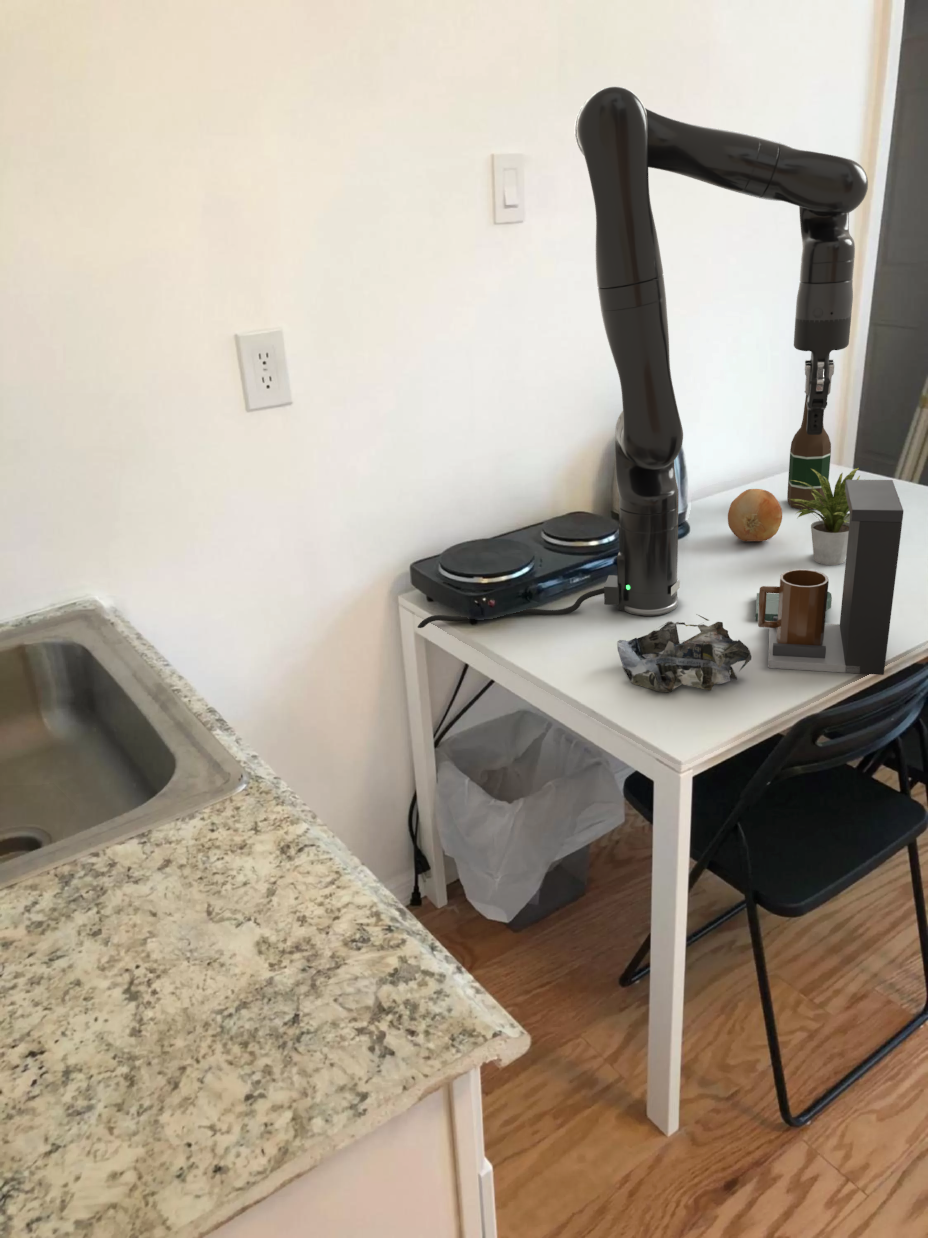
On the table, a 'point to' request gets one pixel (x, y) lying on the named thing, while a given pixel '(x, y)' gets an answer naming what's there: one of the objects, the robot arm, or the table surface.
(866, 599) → the coffee machine
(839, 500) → the house plant
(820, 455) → the beer bottle
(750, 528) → the onion
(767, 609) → the block
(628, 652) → the foil
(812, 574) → the mug
